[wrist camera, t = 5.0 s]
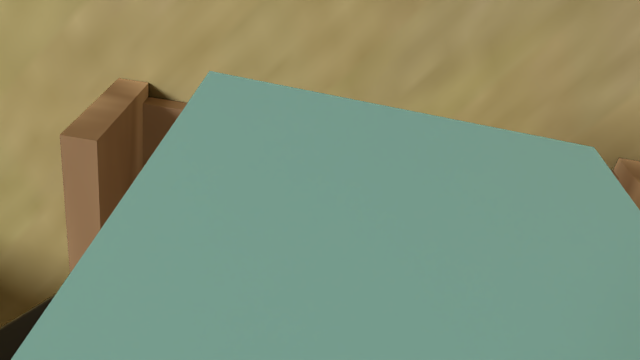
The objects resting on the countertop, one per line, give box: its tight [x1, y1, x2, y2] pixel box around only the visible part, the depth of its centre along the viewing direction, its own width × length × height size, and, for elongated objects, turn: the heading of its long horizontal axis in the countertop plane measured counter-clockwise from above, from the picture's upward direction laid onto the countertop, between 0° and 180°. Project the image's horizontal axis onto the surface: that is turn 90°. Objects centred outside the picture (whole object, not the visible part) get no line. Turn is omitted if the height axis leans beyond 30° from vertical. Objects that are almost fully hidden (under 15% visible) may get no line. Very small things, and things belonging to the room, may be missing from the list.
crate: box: [60, 78, 640, 273], centre depth 21 cm, size 18×12×4 cm, turn 82°
